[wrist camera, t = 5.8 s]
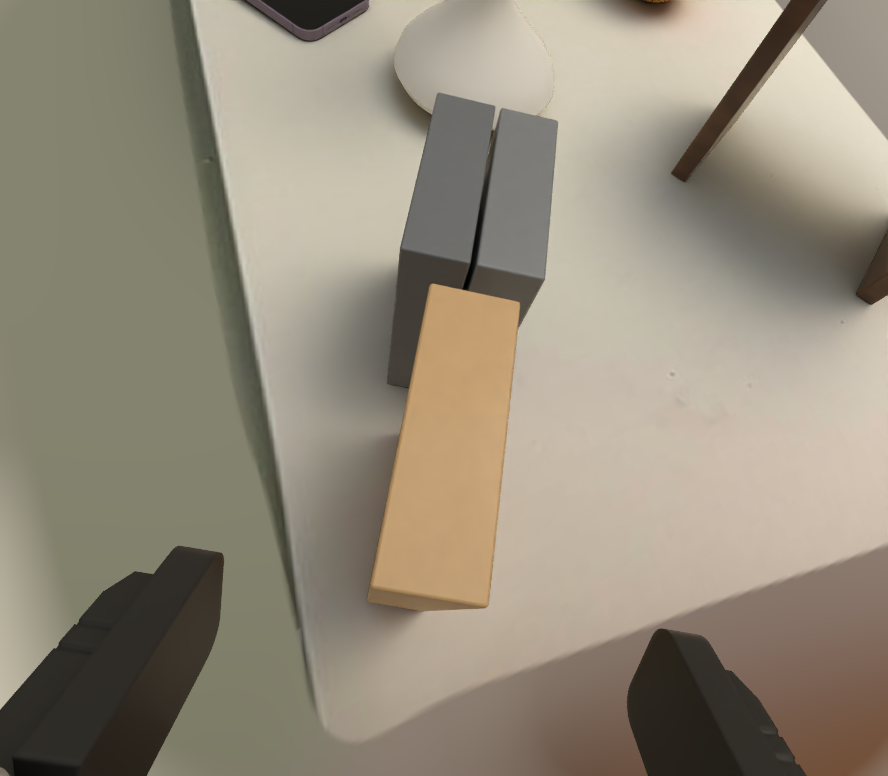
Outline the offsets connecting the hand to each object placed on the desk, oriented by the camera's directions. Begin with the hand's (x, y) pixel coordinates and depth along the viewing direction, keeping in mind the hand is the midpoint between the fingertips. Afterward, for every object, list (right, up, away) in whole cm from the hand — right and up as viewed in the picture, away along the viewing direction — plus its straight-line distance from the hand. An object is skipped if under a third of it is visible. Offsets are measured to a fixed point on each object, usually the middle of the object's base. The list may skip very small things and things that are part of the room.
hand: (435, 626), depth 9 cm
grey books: (0, +8, +19) cm, 21 cm away
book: (-1, -2, +15) cm, 15 cm away
